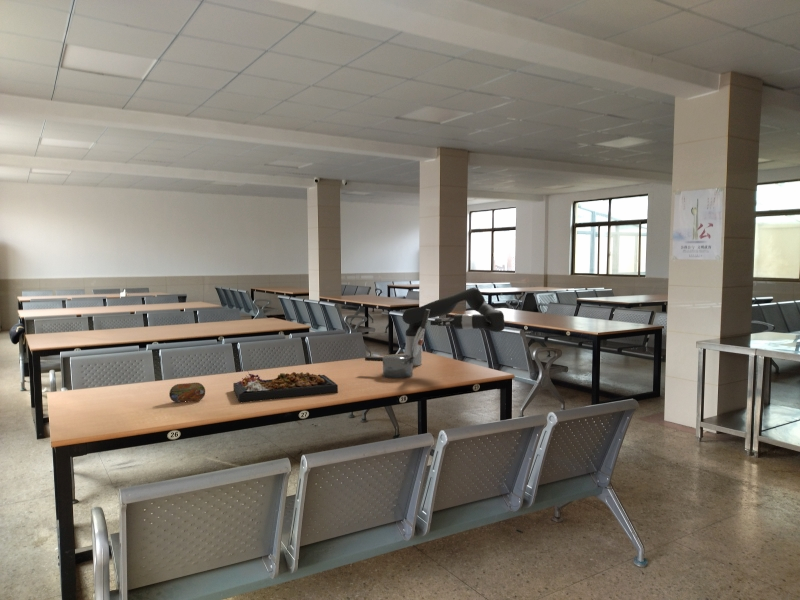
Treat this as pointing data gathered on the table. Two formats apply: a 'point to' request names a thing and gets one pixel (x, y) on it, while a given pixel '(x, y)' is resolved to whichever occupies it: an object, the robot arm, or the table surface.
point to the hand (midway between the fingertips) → (432, 322)
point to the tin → (187, 392)
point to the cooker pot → (395, 365)
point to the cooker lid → (420, 335)
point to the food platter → (283, 387)
